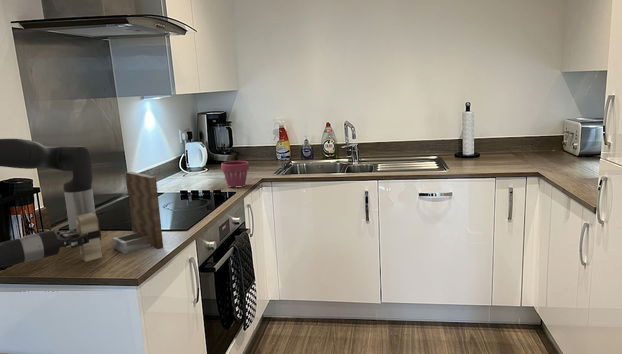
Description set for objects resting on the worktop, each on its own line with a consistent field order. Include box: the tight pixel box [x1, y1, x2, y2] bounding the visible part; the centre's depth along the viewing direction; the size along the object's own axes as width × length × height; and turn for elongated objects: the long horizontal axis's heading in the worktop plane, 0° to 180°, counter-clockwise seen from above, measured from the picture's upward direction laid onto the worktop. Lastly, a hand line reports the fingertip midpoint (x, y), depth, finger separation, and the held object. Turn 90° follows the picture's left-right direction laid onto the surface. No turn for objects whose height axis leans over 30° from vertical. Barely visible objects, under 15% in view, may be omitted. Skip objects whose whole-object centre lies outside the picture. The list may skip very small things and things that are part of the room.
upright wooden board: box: [112, 171, 164, 255], centre depth 159 cm, size 18×11×24 cm, turn 45°
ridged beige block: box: [75, 213, 103, 263], centre depth 150 cm, size 4×6×14 cm
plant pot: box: [220, 160, 250, 187], centre depth 251 cm, size 14×14×13 cm
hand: (97, 231), depth 152 cm, fingers closed on ridged beige block, 4 cm apart
